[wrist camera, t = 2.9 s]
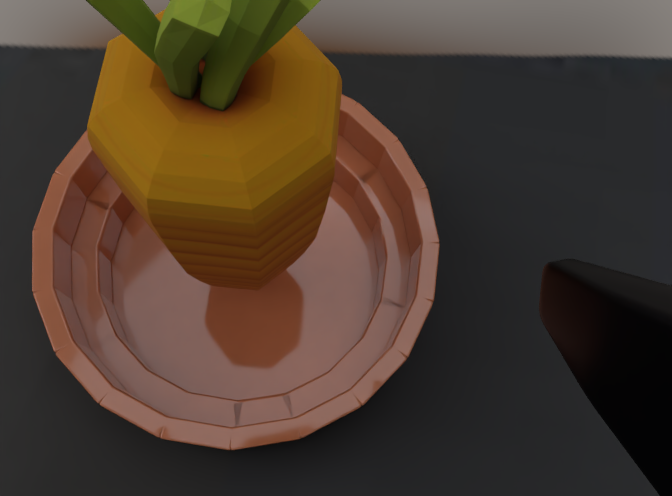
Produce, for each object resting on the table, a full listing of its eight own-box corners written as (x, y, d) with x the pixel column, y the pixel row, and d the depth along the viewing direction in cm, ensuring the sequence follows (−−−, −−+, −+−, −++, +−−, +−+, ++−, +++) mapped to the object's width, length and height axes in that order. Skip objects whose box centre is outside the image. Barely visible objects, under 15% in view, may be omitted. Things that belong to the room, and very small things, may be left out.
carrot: (148, 294, 20) (-167, -73, 6) (222, 180, 22) (116, -322, 7) (275, 361, 20) (264, 145, 5) (340, 241, 21) (462, -165, 7)
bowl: (480, 275, 22) (515, 245, 18) (234, 532, 18) (224, 551, 15) (258, 68, 24) (255, 7, 20) (-1, 262, 20) (-56, 226, 17)
